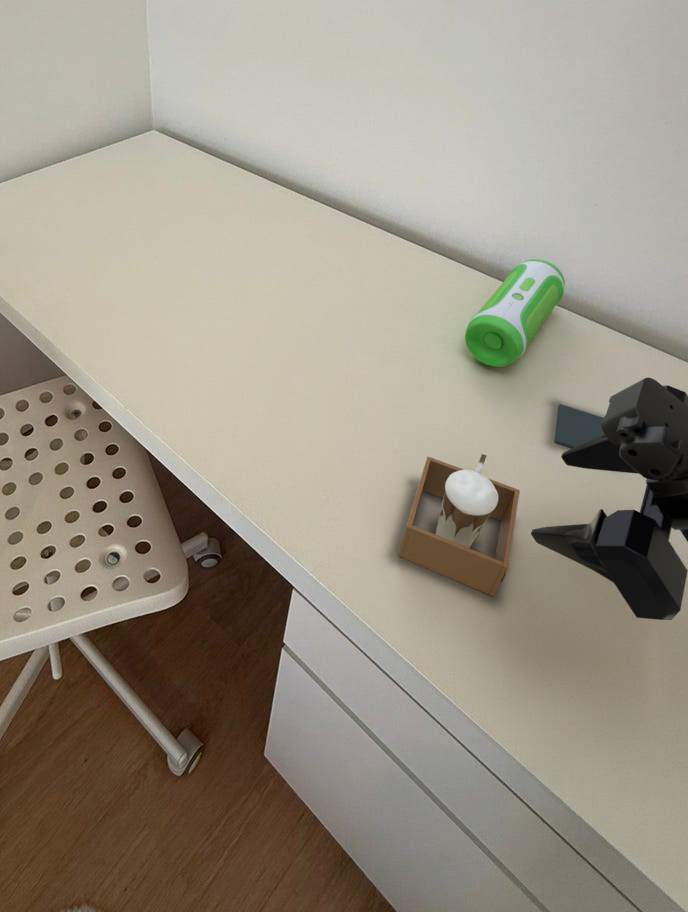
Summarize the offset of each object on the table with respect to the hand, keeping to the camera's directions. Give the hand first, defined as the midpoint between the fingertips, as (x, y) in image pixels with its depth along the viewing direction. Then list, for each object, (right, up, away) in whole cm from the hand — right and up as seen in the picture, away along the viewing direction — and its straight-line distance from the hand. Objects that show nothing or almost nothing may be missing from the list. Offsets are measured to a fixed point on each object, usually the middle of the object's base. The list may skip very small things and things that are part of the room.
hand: (549, 495), depth 56 cm
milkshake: (-4, -8, +10) cm, 13 cm away
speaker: (+12, +11, +34) cm, 37 cm away
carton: (-4, -7, +10) cm, 13 cm away
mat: (+14, 0, +20) cm, 25 cm away
